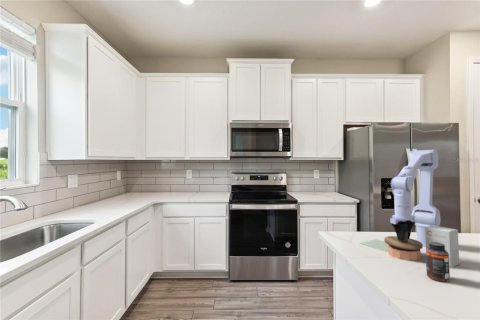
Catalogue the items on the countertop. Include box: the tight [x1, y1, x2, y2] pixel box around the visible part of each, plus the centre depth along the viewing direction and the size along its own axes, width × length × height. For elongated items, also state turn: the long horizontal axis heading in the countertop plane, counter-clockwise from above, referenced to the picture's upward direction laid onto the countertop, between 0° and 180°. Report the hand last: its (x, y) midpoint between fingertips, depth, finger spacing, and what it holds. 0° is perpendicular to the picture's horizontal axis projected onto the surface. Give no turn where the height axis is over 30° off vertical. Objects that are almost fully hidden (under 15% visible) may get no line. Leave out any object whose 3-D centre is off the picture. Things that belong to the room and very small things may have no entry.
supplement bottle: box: [425, 242, 451, 282], centre depth 81 cm, size 6×6×11 cm
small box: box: [425, 225, 460, 268], centre depth 94 cm, size 8×6×13 cm
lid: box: [384, 231, 424, 250], centre depth 101 cm, size 13×13×6 cm
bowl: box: [387, 244, 422, 262], centre depth 100 cm, size 11×11×4 cm
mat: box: [359, 239, 389, 253], centre depth 114 cm, size 13×13×1 cm
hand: (403, 239), depth 100 cm, fingers closed on lid, 3 cm apart
